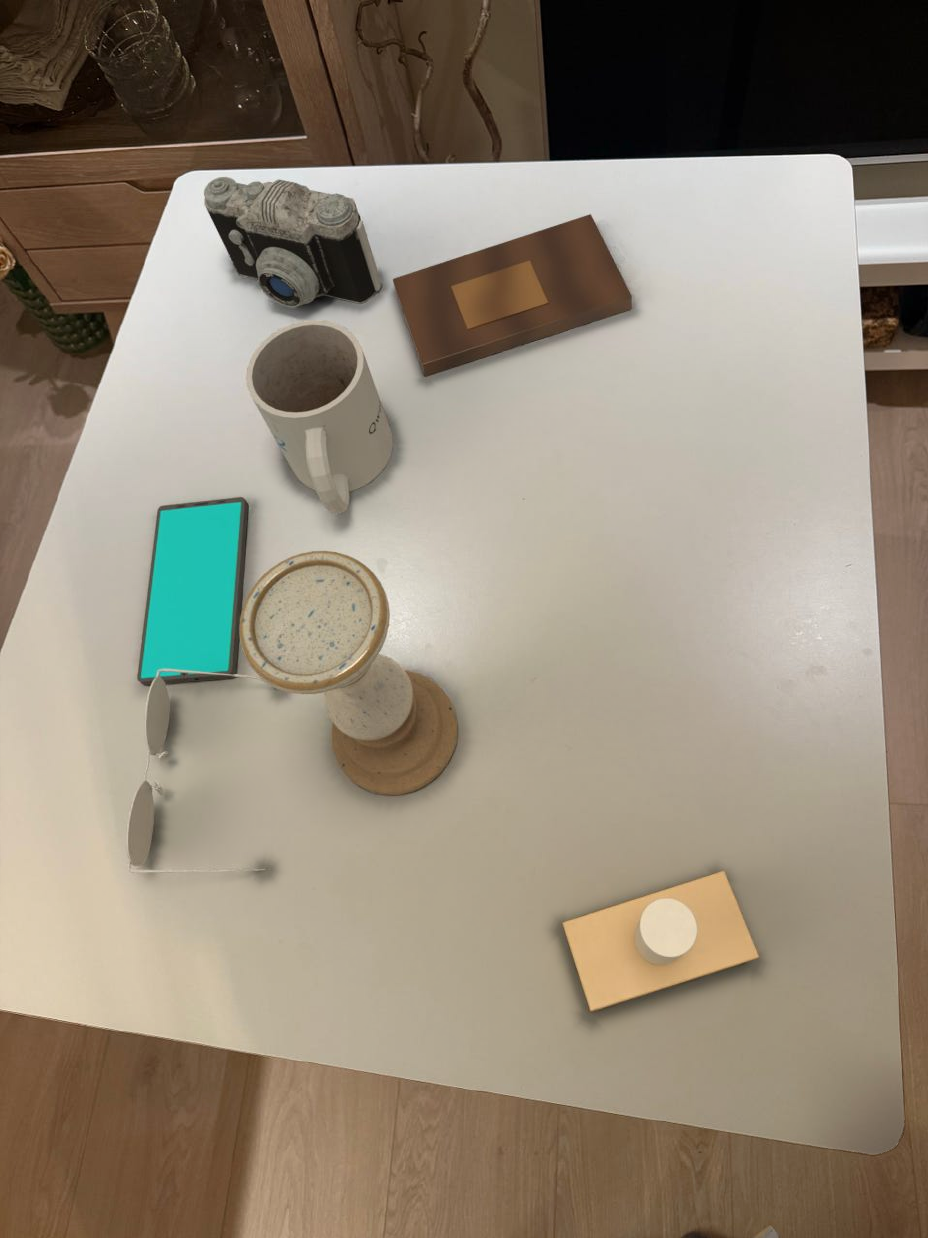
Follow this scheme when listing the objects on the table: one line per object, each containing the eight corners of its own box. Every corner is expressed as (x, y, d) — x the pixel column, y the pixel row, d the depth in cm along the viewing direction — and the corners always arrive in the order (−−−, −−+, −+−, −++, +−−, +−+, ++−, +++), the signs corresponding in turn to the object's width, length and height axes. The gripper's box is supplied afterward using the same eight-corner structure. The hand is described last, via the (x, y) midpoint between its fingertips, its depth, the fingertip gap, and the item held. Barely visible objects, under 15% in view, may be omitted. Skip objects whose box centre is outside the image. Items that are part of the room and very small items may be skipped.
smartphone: (245, 496, 71) (231, 674, 65) (248, 501, 72) (235, 678, 66) (156, 506, 72) (135, 682, 66) (161, 511, 73) (140, 686, 67)
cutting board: (590, 227, 79) (590, 212, 77) (631, 309, 75) (632, 295, 73) (395, 291, 79) (391, 277, 77) (425, 376, 75) (421, 363, 73)
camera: (213, 298, 82) (164, 208, 72) (247, 244, 84) (204, 150, 75) (356, 334, 78) (324, 243, 68) (389, 275, 80) (361, 180, 71)
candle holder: (473, 689, 63) (421, 555, 45) (437, 811, 60) (364, 720, 42) (358, 662, 65) (263, 523, 47) (317, 778, 62) (197, 677, 44)
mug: (298, 404, 75) (257, 321, 66) (398, 403, 74) (370, 318, 65) (274, 534, 70) (226, 463, 61) (380, 535, 69) (348, 462, 60)
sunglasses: (171, 686, 66) (152, 662, 62) (285, 688, 67) (274, 663, 62) (143, 880, 61) (119, 869, 56) (268, 881, 61) (254, 871, 56)
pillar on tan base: (717, 878, 56) (744, 847, 45) (750, 960, 54) (786, 947, 43) (564, 927, 56) (555, 907, 45) (591, 1012, 54) (589, 1011, 43)
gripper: (1499, 1291, 23) (1034, 967, 36) (874, 1834, 21) (616, 1282, 34) (1514, 1413, 25) (1071, 1067, 38) (951, 1916, 23) (681, 1369, 36)
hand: (854, 1170), depth 36 cm, fingers open, 8 cm apart
